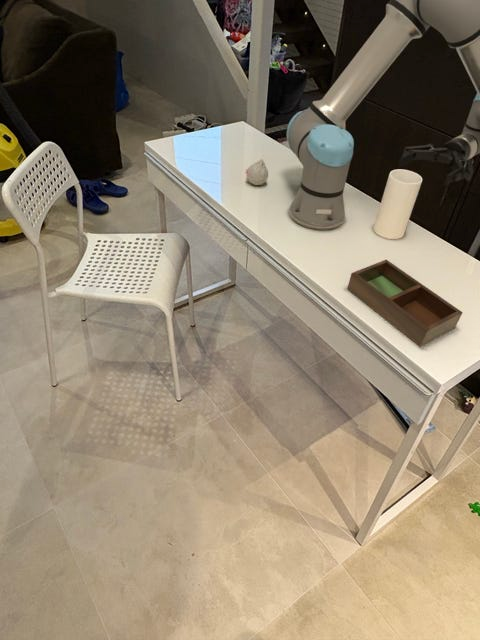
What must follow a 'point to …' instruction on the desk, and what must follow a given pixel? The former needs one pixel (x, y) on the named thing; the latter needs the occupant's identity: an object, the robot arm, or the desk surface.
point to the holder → (404, 302)
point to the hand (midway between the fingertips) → (422, 171)
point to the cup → (397, 203)
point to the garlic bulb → (257, 173)
